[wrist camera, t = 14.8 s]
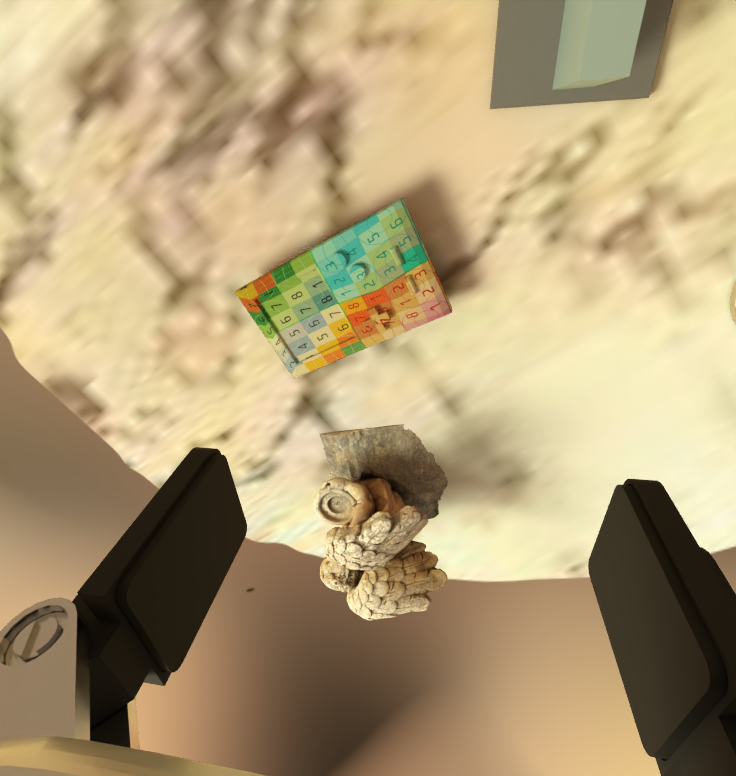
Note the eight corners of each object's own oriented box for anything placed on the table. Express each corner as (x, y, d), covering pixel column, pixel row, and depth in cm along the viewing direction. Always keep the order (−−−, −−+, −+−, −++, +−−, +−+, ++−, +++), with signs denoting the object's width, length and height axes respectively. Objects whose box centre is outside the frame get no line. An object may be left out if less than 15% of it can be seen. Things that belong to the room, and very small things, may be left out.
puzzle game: (452, 315, 41) (291, 382, 48) (451, 299, 45) (303, 363, 52) (400, 201, 36) (230, 295, 44) (404, 193, 40) (248, 281, 47)
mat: (700, -128, 27) (707, -135, 26) (644, 98, 33) (648, 97, 32) (507, -99, 29) (509, -104, 28) (490, 108, 35) (490, 108, 34)
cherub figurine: (308, 432, 58) (259, 537, 43) (436, 420, 53) (432, 534, 38) (341, 518, 66) (310, 631, 52) (454, 515, 62) (455, 638, 47)
